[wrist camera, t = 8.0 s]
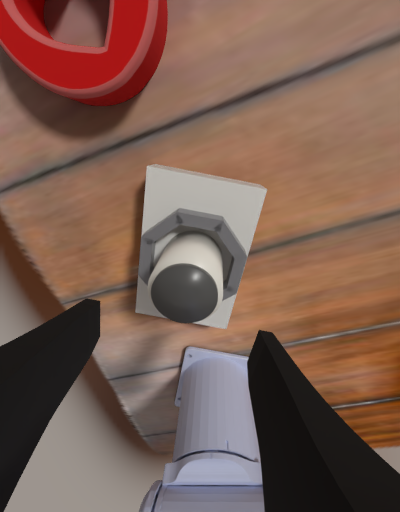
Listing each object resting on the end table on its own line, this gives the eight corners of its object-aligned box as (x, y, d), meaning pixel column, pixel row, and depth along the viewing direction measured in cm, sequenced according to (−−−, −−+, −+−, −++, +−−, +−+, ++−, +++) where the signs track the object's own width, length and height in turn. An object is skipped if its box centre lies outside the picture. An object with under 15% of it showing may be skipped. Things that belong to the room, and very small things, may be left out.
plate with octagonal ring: (225, 311, 23) (226, 339, 19) (143, 296, 22) (130, 321, 19) (260, 184, 18) (271, 192, 14) (155, 164, 17) (141, 167, 14)
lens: (216, 287, 19) (216, 332, 14) (162, 278, 19) (144, 320, 14) (227, 235, 17) (230, 268, 12) (166, 226, 17) (147, 255, 12)
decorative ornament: (126, 136, 17) (108, 133, 14) (-4, 45, 15) (-55, 21, 12) (198, -20, 14) (194, -65, 11) (39, -161, 12) (-18, -262, 9)
